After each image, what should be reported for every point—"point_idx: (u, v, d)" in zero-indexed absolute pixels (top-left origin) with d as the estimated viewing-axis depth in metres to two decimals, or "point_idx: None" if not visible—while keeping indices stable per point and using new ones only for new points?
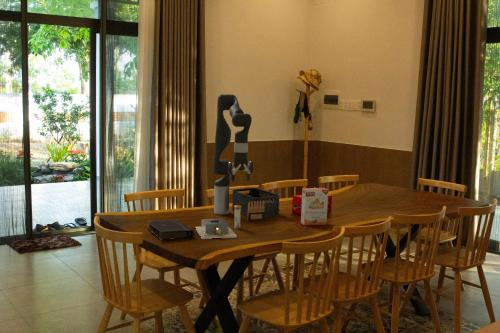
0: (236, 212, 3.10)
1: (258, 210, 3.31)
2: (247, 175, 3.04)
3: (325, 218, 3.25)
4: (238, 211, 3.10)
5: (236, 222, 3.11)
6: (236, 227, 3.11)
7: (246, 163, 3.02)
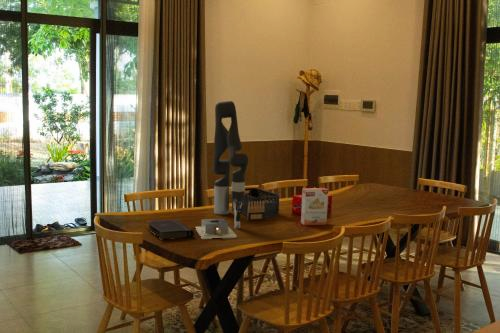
0: None
1: (258, 210, 3.31)
2: None
3: (325, 218, 3.25)
4: None
5: (236, 222, 3.11)
6: (236, 227, 3.11)
7: None
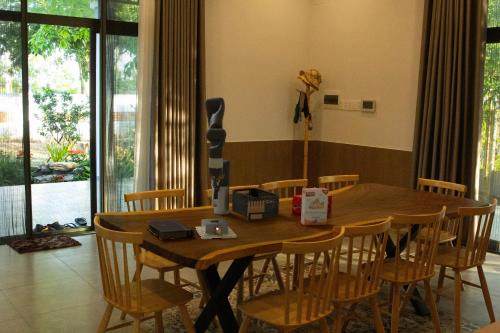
0: None
1: (258, 210, 3.31)
2: None
3: (325, 218, 3.25)
4: (216, 188, 2.99)
5: (214, 200, 2.99)
6: (214, 205, 3.00)
7: None
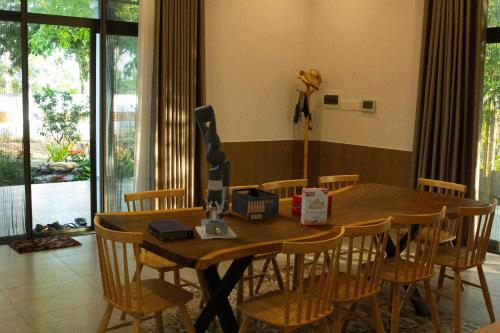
0: (216, 213, 3.01)
1: (258, 210, 3.31)
2: (209, 212, 3.03)
3: (325, 218, 3.25)
4: (217, 211, 3.02)
5: None
6: None
7: None
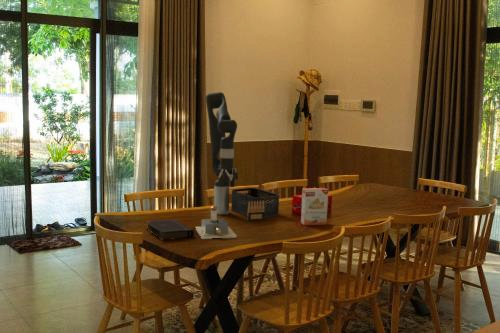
0: (215, 213, 3.00)
1: (258, 210, 3.31)
2: (222, 179, 3.12)
3: (325, 218, 3.25)
4: (216, 212, 3.01)
5: None
6: None
7: None
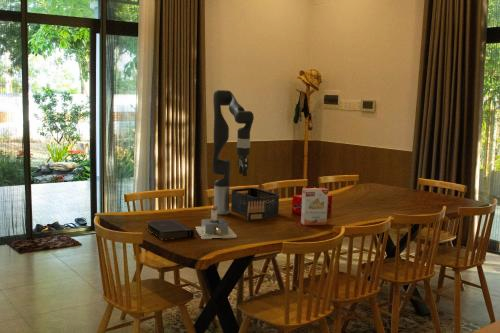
0: (215, 213, 3.01)
1: (258, 210, 3.31)
2: (242, 168, 3.23)
3: (325, 218, 3.25)
4: (216, 211, 3.01)
5: None
6: None
7: None
